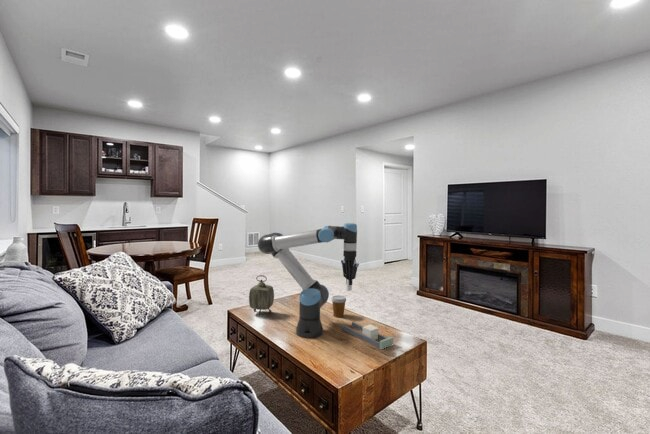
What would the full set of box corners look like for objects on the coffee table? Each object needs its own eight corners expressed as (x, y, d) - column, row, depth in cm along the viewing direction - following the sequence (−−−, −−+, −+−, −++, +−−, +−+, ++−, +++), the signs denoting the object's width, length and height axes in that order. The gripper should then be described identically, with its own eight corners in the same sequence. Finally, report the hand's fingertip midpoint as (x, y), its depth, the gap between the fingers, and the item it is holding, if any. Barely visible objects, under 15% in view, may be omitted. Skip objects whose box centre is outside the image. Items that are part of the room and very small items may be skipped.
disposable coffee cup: (335, 312, 209) (336, 294, 209) (348, 314, 204) (348, 296, 204) (328, 316, 201) (328, 298, 200) (341, 319, 196) (342, 300, 196)
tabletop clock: (273, 311, 207) (274, 274, 206) (269, 316, 198) (269, 277, 197) (252, 310, 209) (253, 273, 208) (247, 315, 200) (247, 276, 199)
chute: (381, 349, 157) (382, 342, 157) (341, 329, 181) (342, 322, 181) (393, 345, 163) (393, 337, 162) (352, 325, 187) (353, 319, 186)
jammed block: (370, 341, 166) (370, 330, 165) (362, 337, 170) (362, 327, 170) (377, 338, 169) (378, 328, 169) (369, 335, 174) (370, 324, 174)
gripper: (362, 251, 178) (361, 291, 180) (347, 248, 189) (346, 286, 190) (352, 252, 174) (351, 294, 175) (337, 249, 184) (336, 288, 185)
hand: (349, 290), depth 182 cm, fingers closed
